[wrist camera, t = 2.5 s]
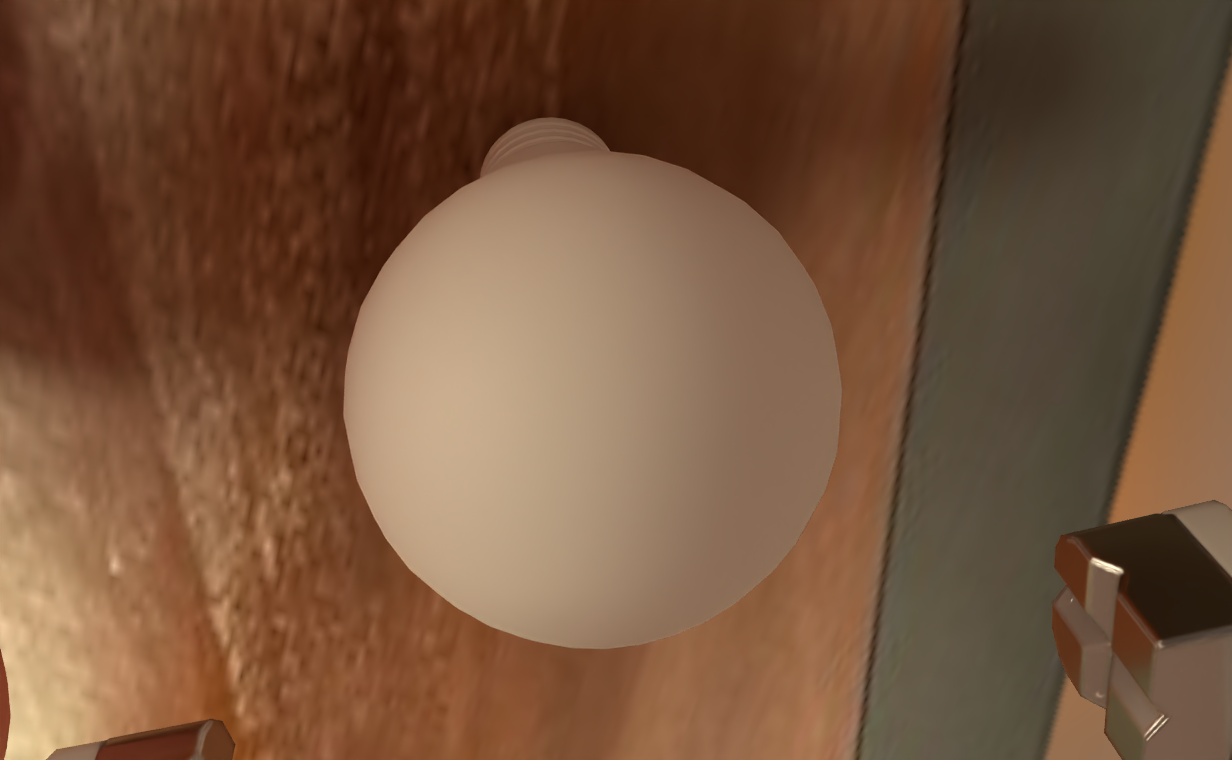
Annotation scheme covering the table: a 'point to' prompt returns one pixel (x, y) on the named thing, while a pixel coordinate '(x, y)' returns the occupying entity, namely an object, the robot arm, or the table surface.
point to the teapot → (3, 710)
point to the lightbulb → (591, 394)
